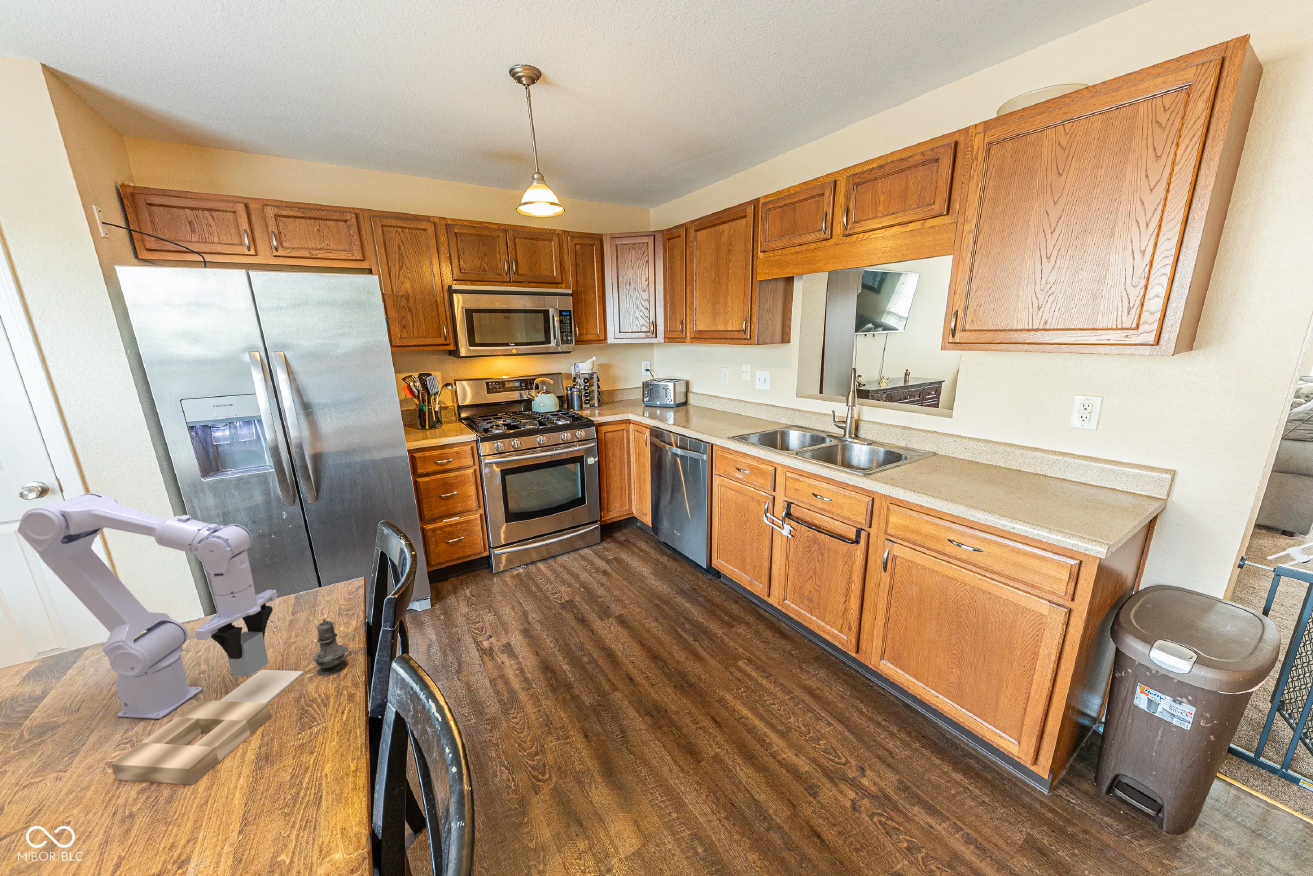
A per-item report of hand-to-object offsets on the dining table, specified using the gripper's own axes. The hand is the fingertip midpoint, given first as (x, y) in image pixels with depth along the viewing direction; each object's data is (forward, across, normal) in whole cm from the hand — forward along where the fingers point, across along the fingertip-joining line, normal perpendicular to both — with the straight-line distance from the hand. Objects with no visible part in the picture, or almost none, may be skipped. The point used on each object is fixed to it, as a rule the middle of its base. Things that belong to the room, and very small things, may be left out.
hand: (247, 650), depth 92 cm
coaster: (+10, +1, 0) cm, 10 cm away
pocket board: (+10, -13, -2) cm, 16 cm away
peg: (+4, 0, 0) cm, 4 cm away
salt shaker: (+10, +8, -10) cm, 16 cm away
